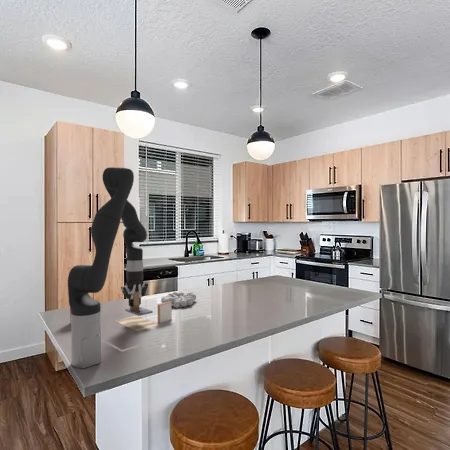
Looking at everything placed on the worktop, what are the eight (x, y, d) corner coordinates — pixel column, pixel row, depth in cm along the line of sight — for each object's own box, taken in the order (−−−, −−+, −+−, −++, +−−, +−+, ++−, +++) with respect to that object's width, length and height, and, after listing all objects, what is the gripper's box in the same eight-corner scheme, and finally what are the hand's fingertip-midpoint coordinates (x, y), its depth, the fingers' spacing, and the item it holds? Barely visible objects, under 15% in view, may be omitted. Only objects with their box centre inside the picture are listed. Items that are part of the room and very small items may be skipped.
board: (159, 325, 146) (159, 324, 146) (136, 332, 137) (136, 331, 137) (136, 316, 159) (136, 315, 159) (114, 322, 151) (114, 320, 151)
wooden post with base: (125, 310, 148) (125, 292, 148) (138, 308, 153) (138, 289, 153) (139, 315, 139) (139, 296, 139) (152, 312, 145) (152, 293, 145)
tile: (171, 320, 153) (171, 302, 153) (159, 324, 148) (159, 304, 148) (169, 319, 154) (169, 301, 154) (157, 323, 149) (157, 304, 149)
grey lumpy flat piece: (158, 300, 192) (158, 291, 192) (191, 297, 199) (191, 288, 199) (164, 310, 171) (164, 300, 171) (201, 307, 179) (201, 297, 179)
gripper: (125, 272, 141) (125, 310, 141) (152, 268, 151) (152, 304, 151) (117, 270, 146) (117, 307, 146) (143, 267, 156) (143, 302, 156)
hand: (134, 306), depth 149 cm, fingers closed on wooden post with base, 3 cm apart
